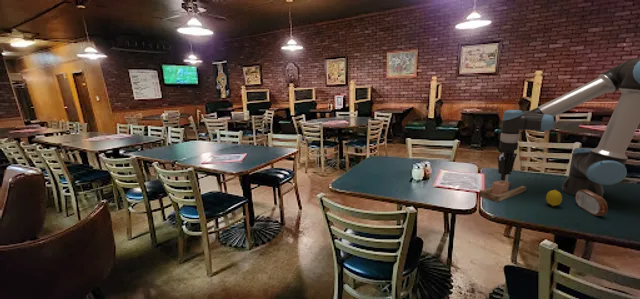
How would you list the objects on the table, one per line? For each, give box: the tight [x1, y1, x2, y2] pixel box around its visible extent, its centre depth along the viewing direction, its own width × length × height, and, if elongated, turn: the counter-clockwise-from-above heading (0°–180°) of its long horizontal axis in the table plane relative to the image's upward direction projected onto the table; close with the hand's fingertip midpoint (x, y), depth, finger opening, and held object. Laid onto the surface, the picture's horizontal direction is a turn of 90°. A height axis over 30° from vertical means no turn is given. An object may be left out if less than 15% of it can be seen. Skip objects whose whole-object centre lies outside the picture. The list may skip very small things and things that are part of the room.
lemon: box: [545, 189, 563, 207], centre depth 122 cm, size 6×6×8 cm
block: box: [491, 180, 509, 195], centre depth 137 cm, size 5×5×6 cm
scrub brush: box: [574, 190, 609, 217], centre depth 116 cm, size 15×3×8 cm, turn 168°
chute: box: [478, 181, 527, 203], centre depth 138 cm, size 9×25×3 cm, turn 117°
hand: (503, 185), depth 138 cm, fingers closed
